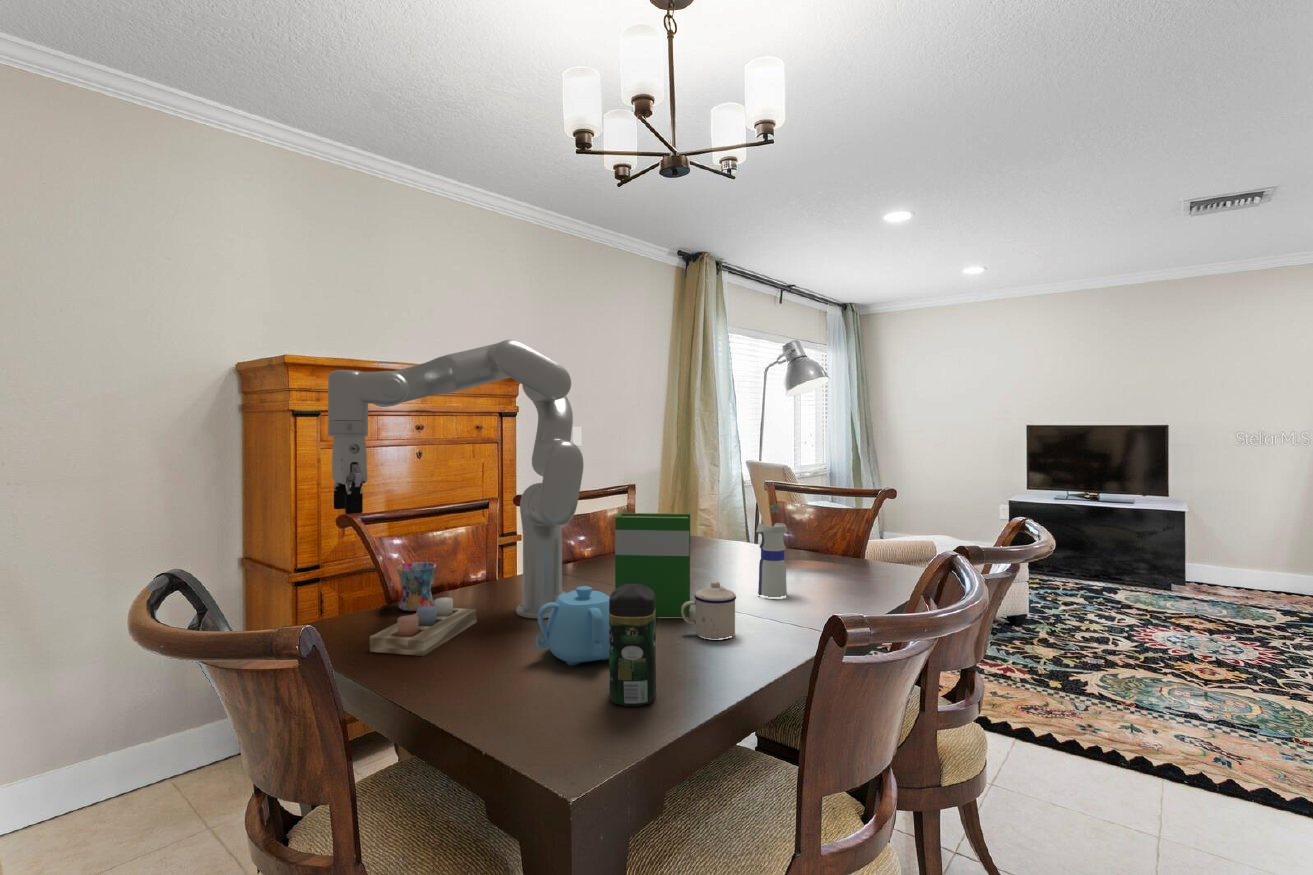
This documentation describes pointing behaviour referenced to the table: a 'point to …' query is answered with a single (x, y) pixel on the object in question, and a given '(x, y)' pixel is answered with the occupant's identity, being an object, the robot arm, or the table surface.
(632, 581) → the hardback book
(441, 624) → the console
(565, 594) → the decorative pot
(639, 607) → the coffee jar
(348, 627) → the table surface
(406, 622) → the button terracotta
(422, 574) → the multicolour ceramic cup
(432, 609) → the button slate
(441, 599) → the button ivory
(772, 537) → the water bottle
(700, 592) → the teacup with lid
